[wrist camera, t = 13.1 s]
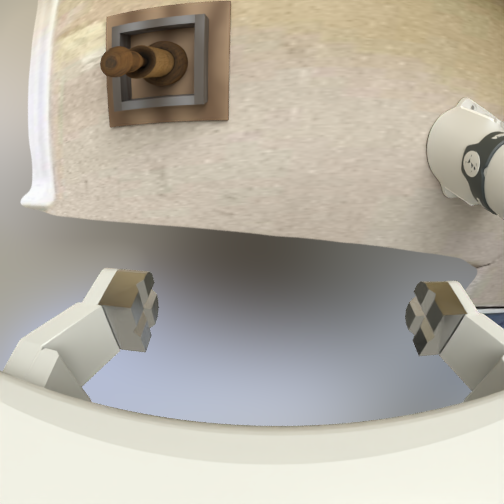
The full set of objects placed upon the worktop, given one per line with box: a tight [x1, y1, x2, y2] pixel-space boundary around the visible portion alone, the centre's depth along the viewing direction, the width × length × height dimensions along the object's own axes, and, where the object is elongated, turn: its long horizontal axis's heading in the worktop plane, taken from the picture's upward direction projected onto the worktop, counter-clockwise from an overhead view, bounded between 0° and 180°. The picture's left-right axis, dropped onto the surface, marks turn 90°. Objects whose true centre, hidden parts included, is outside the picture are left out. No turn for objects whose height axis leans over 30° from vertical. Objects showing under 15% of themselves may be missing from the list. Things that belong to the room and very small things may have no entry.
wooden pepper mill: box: [100, 41, 188, 86], centre depth 27 cm, size 7×6×18 cm
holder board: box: [106, 1, 231, 127], centre depth 33 cm, size 18×18×5 cm
